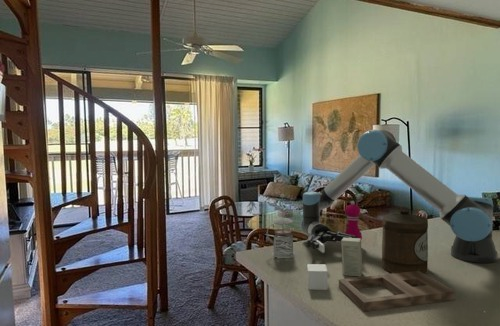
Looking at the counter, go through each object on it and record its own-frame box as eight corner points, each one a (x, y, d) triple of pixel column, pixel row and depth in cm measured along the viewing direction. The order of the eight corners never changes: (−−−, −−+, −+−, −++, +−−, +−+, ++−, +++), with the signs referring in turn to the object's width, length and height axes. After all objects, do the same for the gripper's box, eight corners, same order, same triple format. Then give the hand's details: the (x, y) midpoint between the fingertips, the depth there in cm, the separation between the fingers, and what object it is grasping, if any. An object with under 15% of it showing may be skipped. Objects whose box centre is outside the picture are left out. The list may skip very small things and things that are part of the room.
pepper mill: (343, 248, 148) (342, 202, 147) (345, 243, 155) (344, 199, 154) (361, 250, 146) (360, 202, 144) (362, 245, 152) (362, 199, 151)
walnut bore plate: (418, 278, 116) (418, 270, 116) (454, 299, 100) (455, 291, 100) (338, 287, 111) (338, 279, 111) (364, 311, 95) (364, 302, 95)
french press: (294, 259, 138) (293, 196, 136) (265, 258, 140) (263, 196, 138) (296, 251, 147) (295, 192, 146) (269, 250, 150) (267, 192, 148)
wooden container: (430, 278, 115) (430, 212, 114) (382, 273, 121) (381, 210, 119) (425, 263, 129) (425, 204, 128) (382, 259, 134) (381, 202, 133)
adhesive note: (327, 290, 109) (327, 271, 109) (308, 289, 110) (307, 271, 110) (325, 282, 115) (325, 264, 115) (307, 281, 116) (307, 264, 116)
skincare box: (362, 272, 122) (362, 238, 121) (361, 277, 118) (360, 241, 117) (343, 270, 125) (343, 236, 124) (341, 274, 121) (341, 240, 120)
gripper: (347, 238, 152) (372, 254, 131) (291, 243, 148) (308, 260, 127) (346, 221, 151) (372, 234, 131) (291, 225, 147) (308, 240, 126)
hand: (341, 247), depth 129 cm, fingers open, 13 cm apart
